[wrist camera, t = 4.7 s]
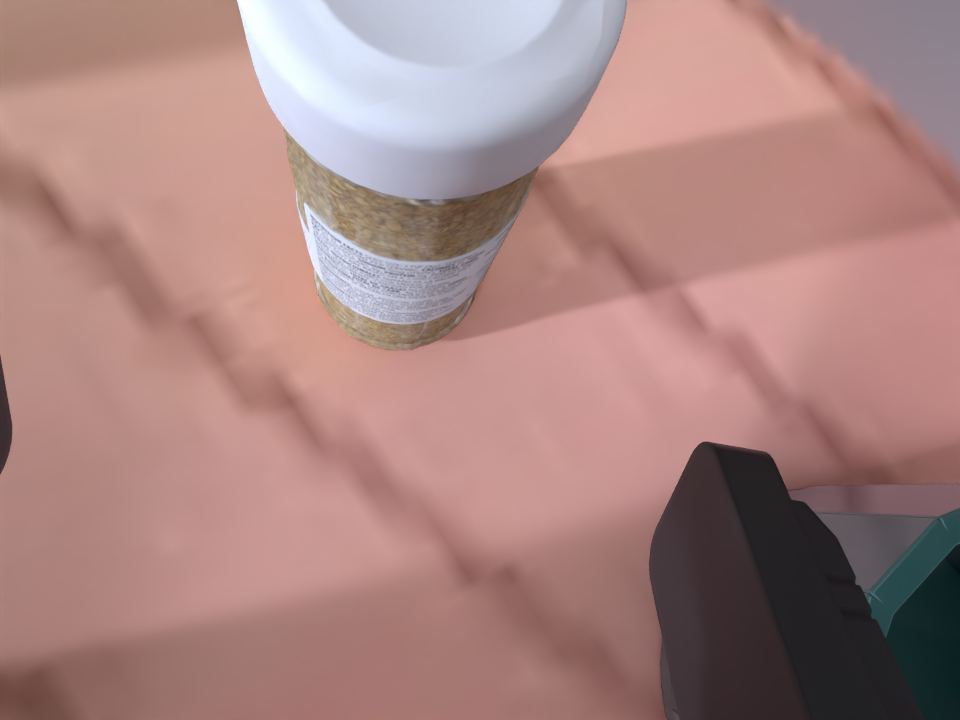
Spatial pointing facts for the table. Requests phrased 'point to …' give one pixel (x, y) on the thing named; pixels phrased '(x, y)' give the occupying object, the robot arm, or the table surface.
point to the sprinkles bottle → (420, 138)
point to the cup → (898, 579)
